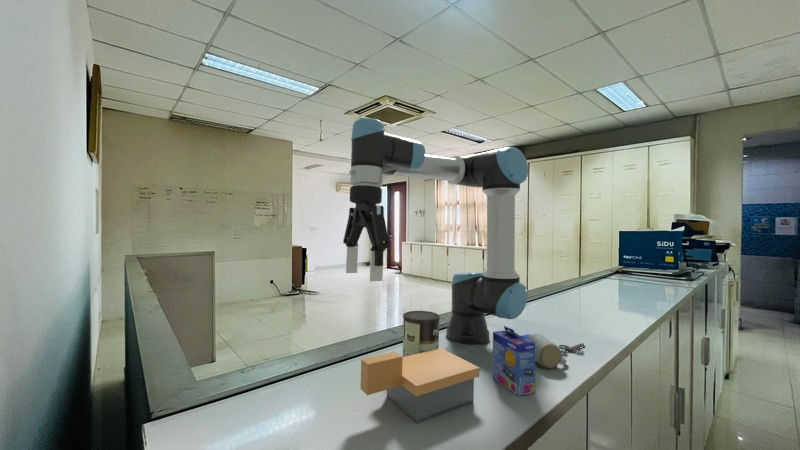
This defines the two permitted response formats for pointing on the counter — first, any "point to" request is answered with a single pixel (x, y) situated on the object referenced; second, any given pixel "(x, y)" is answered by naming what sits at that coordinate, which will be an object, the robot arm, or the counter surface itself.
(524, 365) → the ink cartridge box
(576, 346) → the keychain
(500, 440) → the counter surface
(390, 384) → the lid
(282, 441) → the counter surface
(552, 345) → the ceramic mug
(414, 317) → the coffee can
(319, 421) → the counter surface
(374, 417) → the counter surface
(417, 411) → the parts tub
